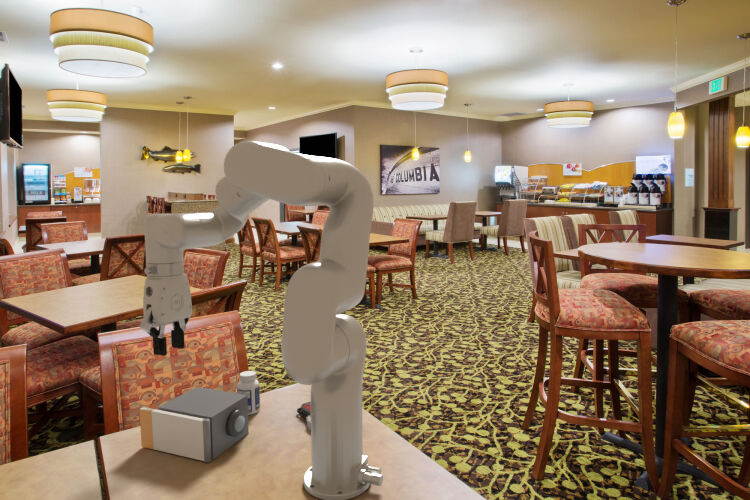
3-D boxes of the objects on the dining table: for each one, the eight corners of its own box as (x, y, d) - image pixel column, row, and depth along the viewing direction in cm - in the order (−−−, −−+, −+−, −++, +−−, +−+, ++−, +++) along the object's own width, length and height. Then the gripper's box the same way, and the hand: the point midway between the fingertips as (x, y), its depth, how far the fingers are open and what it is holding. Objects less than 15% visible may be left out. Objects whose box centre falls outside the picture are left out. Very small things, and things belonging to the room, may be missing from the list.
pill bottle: (253, 404, 126) (252, 368, 125) (264, 411, 122) (263, 373, 121) (234, 410, 122) (232, 373, 121) (244, 417, 119) (243, 379, 118)
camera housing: (254, 434, 110) (253, 396, 109) (219, 461, 99) (218, 418, 98) (198, 423, 116) (197, 386, 115) (159, 447, 104) (157, 407, 103)
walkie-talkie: (289, 417, 119) (334, 450, 104) (288, 400, 119) (334, 430, 103) (319, 408, 125) (367, 437, 109) (319, 391, 124) (367, 418, 109)
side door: (213, 459, 99) (211, 419, 98) (208, 463, 98) (206, 422, 97) (146, 444, 105) (144, 406, 104) (141, 447, 104) (138, 408, 103)
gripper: (148, 276, 98) (152, 365, 99) (205, 265, 113) (208, 342, 115) (120, 274, 100) (125, 361, 102) (180, 264, 116) (183, 339, 118)
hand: (169, 350), depth 109 cm, fingers open, 4 cm apart
